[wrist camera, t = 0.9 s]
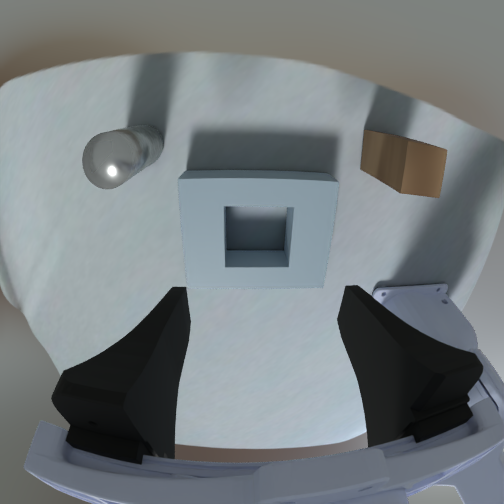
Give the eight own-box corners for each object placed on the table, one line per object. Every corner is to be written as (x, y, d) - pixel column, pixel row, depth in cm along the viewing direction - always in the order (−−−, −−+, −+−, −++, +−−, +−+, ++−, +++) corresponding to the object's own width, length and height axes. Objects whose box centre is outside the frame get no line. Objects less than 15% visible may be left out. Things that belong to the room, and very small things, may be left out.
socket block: (328, 173, 19) (339, 181, 17) (315, 270, 23) (323, 287, 21) (185, 170, 19) (177, 179, 17) (192, 270, 23) (187, 288, 20)
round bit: (162, 122, 17) (130, 128, 12) (164, 164, 18) (135, 187, 13) (122, 127, 17) (80, 136, 12) (125, 167, 18) (86, 191, 13)
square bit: (398, 135, 18) (447, 149, 13) (394, 173, 19) (439, 197, 14) (364, 129, 18) (408, 140, 12) (360, 169, 19) (400, 193, 14)
